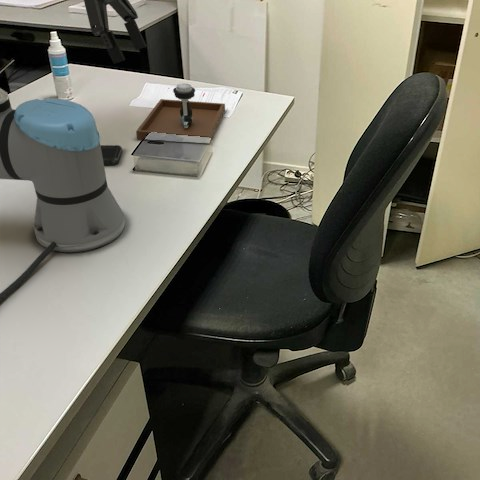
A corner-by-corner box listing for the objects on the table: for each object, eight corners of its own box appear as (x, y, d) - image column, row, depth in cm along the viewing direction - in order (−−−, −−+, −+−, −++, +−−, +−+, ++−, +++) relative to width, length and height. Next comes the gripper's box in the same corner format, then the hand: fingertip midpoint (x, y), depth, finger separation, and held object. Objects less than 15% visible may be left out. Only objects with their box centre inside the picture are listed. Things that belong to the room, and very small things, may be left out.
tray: (209, 144, 134) (209, 136, 133) (137, 139, 134) (136, 131, 133) (225, 111, 152) (224, 103, 150) (161, 106, 152) (160, 99, 150)
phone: (116, 160, 122) (44, 160, 120) (117, 165, 122) (45, 165, 120) (122, 145, 128) (54, 144, 126) (123, 149, 129) (55, 149, 127)
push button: (196, 130, 139) (193, 91, 134) (174, 130, 139) (171, 91, 133) (198, 119, 145) (195, 82, 139) (177, 119, 144) (173, 82, 138)
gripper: (74, -42, 109) (124, 63, 119) (123, -51, 130) (162, 39, 140) (42, -30, 111) (94, 73, 121) (96, -41, 132) (136, 47, 142)
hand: (131, 55), depth 131 cm, fingers open, 13 cm apart
